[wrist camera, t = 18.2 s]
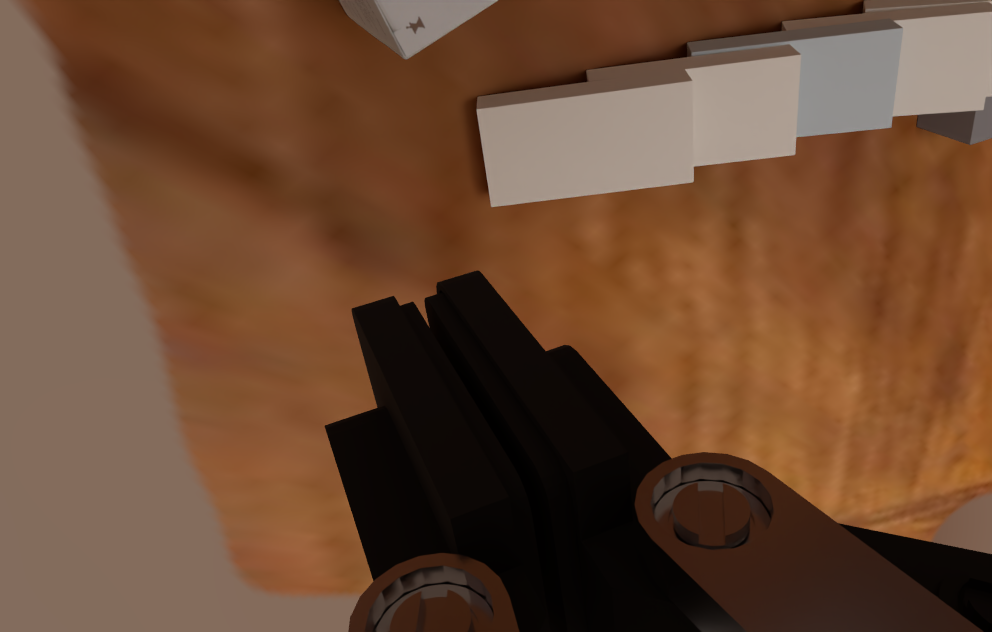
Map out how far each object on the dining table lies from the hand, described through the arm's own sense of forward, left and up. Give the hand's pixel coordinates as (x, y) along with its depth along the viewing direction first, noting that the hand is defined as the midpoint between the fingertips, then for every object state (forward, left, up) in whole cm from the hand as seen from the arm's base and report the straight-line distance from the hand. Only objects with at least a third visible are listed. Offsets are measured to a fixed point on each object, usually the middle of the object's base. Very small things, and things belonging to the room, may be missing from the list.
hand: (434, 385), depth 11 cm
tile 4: (-27, +8, -28) cm, 40 cm away
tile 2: (-16, +8, -28) cm, 33 cm away
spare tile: (-21, +8, -28) cm, 36 cm away
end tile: (-10, +8, -28) cm, 31 cm away
